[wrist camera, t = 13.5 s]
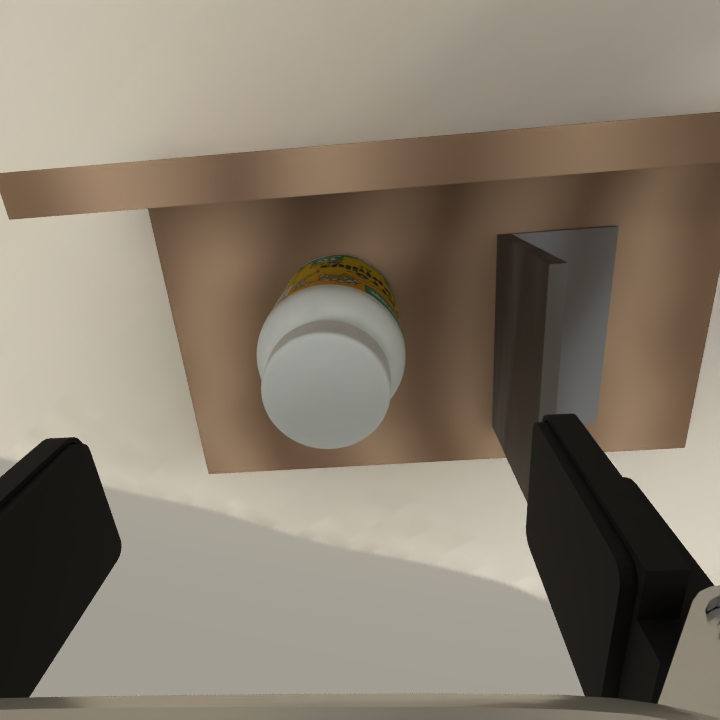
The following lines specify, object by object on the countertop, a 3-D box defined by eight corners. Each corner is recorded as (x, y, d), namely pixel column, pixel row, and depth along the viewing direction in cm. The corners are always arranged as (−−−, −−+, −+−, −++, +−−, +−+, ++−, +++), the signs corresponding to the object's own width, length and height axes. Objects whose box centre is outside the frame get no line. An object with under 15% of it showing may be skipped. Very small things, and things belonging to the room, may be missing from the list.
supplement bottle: (266, 326, 24) (207, 422, 15) (317, 229, 22) (283, 273, 14) (361, 376, 25) (357, 493, 16) (417, 287, 23) (446, 364, 14)
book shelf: (725, 120, 22) (1012, 87, 12) (668, 433, 28) (830, 580, 18) (152, 168, 23) (-6, 173, 13) (216, 458, 29) (139, 609, 19)
